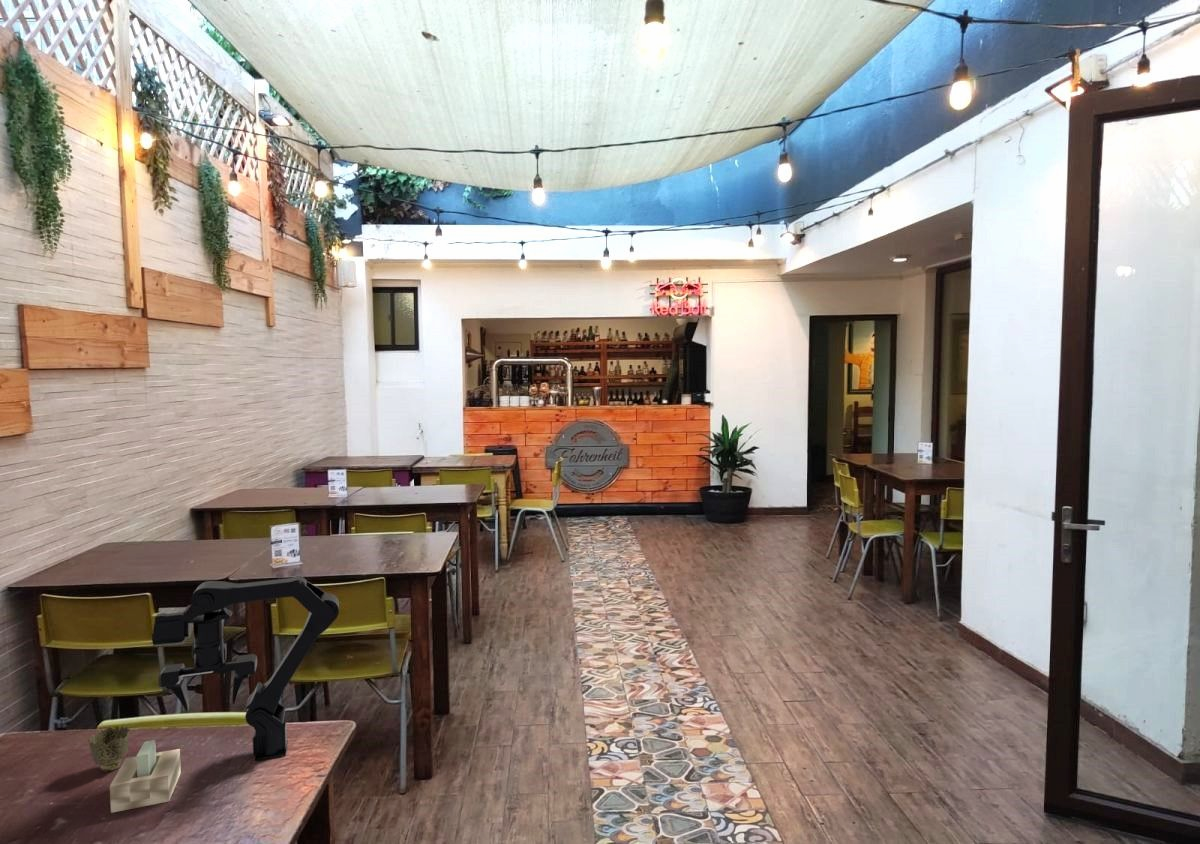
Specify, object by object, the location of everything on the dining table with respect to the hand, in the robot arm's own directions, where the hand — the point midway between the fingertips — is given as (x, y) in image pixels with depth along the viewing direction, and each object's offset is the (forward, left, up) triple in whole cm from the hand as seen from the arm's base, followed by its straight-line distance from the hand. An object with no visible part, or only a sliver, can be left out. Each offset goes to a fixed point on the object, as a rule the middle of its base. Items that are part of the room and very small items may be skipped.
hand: (211, 706), depth 151 cm
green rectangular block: (+11, +7, -12) cm, 17 cm away
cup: (+21, -6, -13) cm, 26 cm away
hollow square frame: (+11, +7, -13) cm, 19 cm away
